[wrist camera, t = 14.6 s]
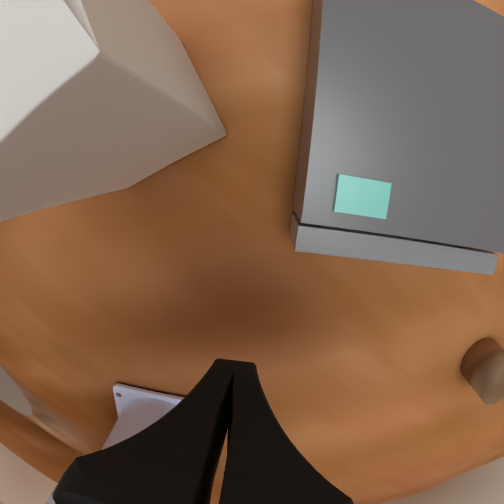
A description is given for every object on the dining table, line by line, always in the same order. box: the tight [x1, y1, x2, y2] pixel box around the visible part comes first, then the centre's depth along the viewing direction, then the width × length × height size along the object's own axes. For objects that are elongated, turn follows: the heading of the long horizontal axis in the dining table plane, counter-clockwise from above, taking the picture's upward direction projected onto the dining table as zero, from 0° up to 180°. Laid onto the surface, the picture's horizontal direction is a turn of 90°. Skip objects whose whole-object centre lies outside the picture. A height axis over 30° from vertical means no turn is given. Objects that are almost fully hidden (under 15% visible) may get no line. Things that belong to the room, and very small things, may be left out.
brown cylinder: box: [461, 338, 504, 405], centre depth 19 cm, size 4×4×4 cm
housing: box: [292, 0, 504, 253], centre depth 14 cm, size 14×12×6 cm
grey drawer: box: [290, 212, 498, 275], centre depth 15 cm, size 14×12×4 cm
